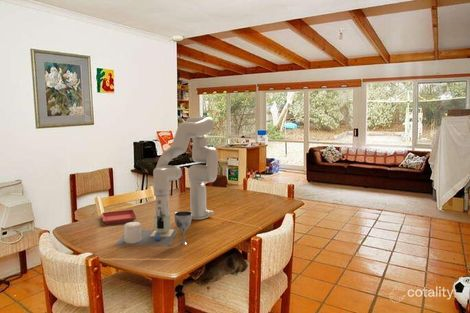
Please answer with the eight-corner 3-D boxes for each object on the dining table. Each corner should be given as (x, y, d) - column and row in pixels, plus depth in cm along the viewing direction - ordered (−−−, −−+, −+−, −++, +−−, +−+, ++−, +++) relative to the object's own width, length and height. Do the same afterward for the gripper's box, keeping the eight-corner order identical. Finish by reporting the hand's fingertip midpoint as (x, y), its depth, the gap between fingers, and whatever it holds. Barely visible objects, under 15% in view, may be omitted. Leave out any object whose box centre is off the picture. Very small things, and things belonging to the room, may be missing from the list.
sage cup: (171, 227, 173) (170, 212, 172) (168, 232, 165) (167, 217, 165) (156, 227, 173) (156, 212, 172) (153, 232, 166) (152, 216, 165)
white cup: (143, 237, 163) (142, 221, 162) (138, 243, 156) (137, 226, 155) (127, 237, 163) (127, 221, 162) (122, 243, 156) (122, 226, 155)
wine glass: (175, 241, 160) (175, 211, 158) (192, 240, 161) (192, 210, 159) (174, 247, 152) (173, 216, 150) (191, 247, 153) (191, 215, 151)
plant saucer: (102, 217, 198) (101, 212, 198) (133, 214, 205) (133, 209, 205) (103, 226, 182) (102, 221, 181) (137, 222, 189) (136, 217, 189)
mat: (177, 230, 174) (177, 229, 174) (169, 246, 154) (169, 244, 153) (128, 230, 175) (128, 229, 174) (114, 246, 154) (114, 244, 154)
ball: (161, 239, 161) (161, 232, 161) (160, 241, 158) (160, 235, 157) (155, 239, 161) (155, 232, 161) (153, 241, 158) (153, 235, 158)
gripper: (165, 196, 158) (166, 231, 160) (172, 188, 175) (173, 220, 178) (149, 196, 158) (150, 231, 160) (158, 188, 175) (159, 220, 178)
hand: (162, 225), depth 169 cm, fingers closed on sage cup, 7 cm apart
